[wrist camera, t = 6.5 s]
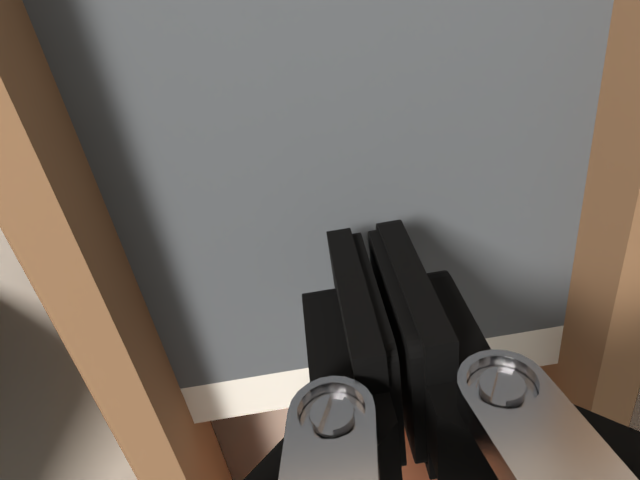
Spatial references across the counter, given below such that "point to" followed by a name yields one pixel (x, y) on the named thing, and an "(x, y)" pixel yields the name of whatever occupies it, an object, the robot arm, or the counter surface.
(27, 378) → the counter surface
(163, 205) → the lane
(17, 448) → the counter surface
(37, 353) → the counter surface
